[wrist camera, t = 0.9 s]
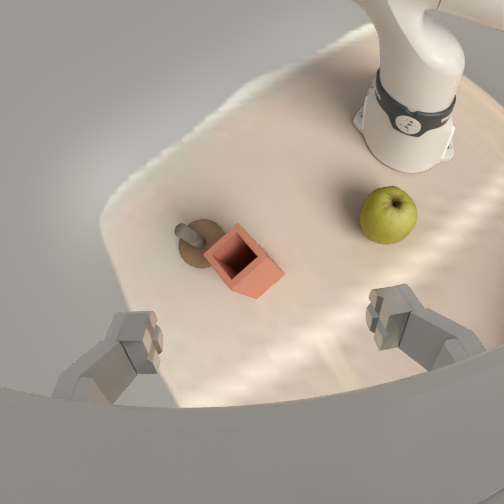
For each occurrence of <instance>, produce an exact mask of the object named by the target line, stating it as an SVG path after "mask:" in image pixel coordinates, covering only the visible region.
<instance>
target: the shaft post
mask: <svg viewBox="0 0 504 504" xmlns="http://www.w3.org/2000/svg"><path fill="white" fill-rule="evenodd" d="M175 235H176V236H178V237H179V238H180V242H179V250H180V254H181V256H182V258H183V260H184V261H185V262H186V263H188V264H189V265H191V266H194V267H196V268H206V267H209V266H212V265H211V264H210V263H209V261H208V260H207V259H206V258H205V256H204V255H203V254H204V253H205V252H206V251H208V250H209V249H210V248H211V247H212V246H213V245H214V244H215V243H216V242H217V241H219V240H220V239H221V238H222V237H223V236H224V235H225V234H224V232H223V230H222V229H221V227H220V226H218V225H217V224H216V223H215V222H213V221H211V220H206V219H202V220H197V221H195V222H193V223H191V224H190V225H189V226H186V225H185V224H182V223H181V224H178V225H177V226H176V228H175Z"/></svg>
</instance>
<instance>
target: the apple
mask: <svg viewBox="0 0 504 504" xmlns="http://www.w3.org/2000/svg"><path fill="white" fill-rule="evenodd" d="M416 220H417V208H416V205H415V204H414V202H413V200H412V199H411V198H410V197H409V195H408V194H407V193H405V192H404V191H403V190H401V189H399V188H398V187H395V186H389V187H383V188H378V189H376V190H374V191H373V192H372V193H371V194H370V195H369V197H368V198H367V200H366V201H365V203H364V205H363V207H362V209H361V213H360V224H361V228H362V230H363V232H364V234H365V235H366V237H367V238H369V239H370V240H371V241H374V242H377V243H379V244H393V243H397V242H399V241H401V240H403V239H404V238H405V237H407V236H408V235H409V233H410V232H411V231H412V230H413V228H414V226H415V224H416Z"/></svg>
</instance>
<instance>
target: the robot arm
mask: <svg viewBox="0 0 504 504" xmlns="http://www.w3.org/2000/svg"><path fill="white" fill-rule="evenodd" d="M353 1H354V2H355V3H356V4H357V5H358V6H359V7H360V8H361V9H362V10H363V11H364V12H365V13H366V15H367V16H368V17H369V19H370V20H371V22H372V23H373V25H374V27H375V29H376V31H377V34H378V38H379V46H380V67H379V69H378V71H377V75H376V77H374V78H373V80H372V83H371V87H372V88H369V89H368V91H367V94H368V95H367V96H366V97H365V103H364V104H363V106H362V107H361V108H360V110H359V111H358V113H357V114H356V116H355V117H354V121H353V123H354V125H355V127H356V128H357V129H358V130H359V131H360V132H361V133H362V134H363V136H364V138H365V140H366V143H367V145H368V147H369V149H370V151H371V152H372V153H373V154H374V156H375V157H376V158H377V159H378V160H380V161H381V162H382V163H384V164H385V165H387V166H388V167H390V168H393V169H395V170H398V171H401V172H407V173H418V172H423V171H426V170H428V169H430V168H431V167H433V166H434V165H435V164H437V163H439V162H445V161H449V160H451V159H452V157H453V154H454V152H453V140H452V135H453V133H454V129H455V127H454V126H453V120H452V115H451V114H452V113H453V110H454V107H455V101H456V91H457V88H458V85H459V83H460V80H461V77H462V74H463V71H464V68H465V57H464V53H463V50H462V48H461V46H460V44H459V42H458V41H457V39H456V38H455V37H454V36H453V35H452V34H451V32H450V31H449V30H448V29H447V28H445V27H444V26H443V25H442V24H440V23H439V22H437V21H436V20H435V19H433V18H432V17H431V16H429V15H428V14H427V13H426V12H425V11H426V10H438V11H441V12H445V13H448V14H451V15H455V16H458V17H461V18H464V19H467V20H470V21H473V22H476V23H478V24H481V25H484V26H486V27H489V28H492V29H496V30H501V31H504V0H353ZM362 117H363V118H362ZM447 148H448V149H447ZM369 300H370V301H371V303H370V304H369V306H368V307H367V310H366V321H367V325H368V328H369V330H370V331H372V332H373V333H375V335H374V340H375V342H376V345H377V347H378V349H379V351H380V350H386V349H391V348H396V347H399V349H401V350H402V351H403V352H404V353H406V354H407V355H408V356H410V357H411V358H412V359H413V360H415V361H416V362H417V363H419V364H420V365H421V366H422V367H424V368H425V369H426V370H428V372H425V373H421V374H418V375H415V376H411V377H407V378H404V379H400V380H396V381H392V382H388V383H384V384H380V385H376V386H372V387H367V388H363V389H358V390H353V391H348V392H343V393H338V394H332V395H326V396H320V397H314V398H307V399H300V400H293V401H285V402H276V403H267V404H256V405H244V406H228V407H203V408H158V407H156V408H155V407H135V406H120V405H113V403H114V402H115V401H116V400H117V399H118V397H119V396H120V395H121V394H122V392H123V391H124V390H125V389H126V388H127V387H128V386H129V384H130V383H131V382H132V381H133V380H134V378H135V377H136V376H137V374H158V370H159V365H160V358H159V356H158V355H159V354H160V353H161V352H162V349H163V335H162V331H161V328H160V327H159V326H157V325H156V322H157V317H156V315H155V312H153V311H138V312H117V313H116V314H115V315H114V318H113V320H112V323H111V325H110V327H109V330H108V332H107V335H106V338H105V340H104V341H101V342H99V343H98V344H97V345H95V346H94V347H93V348H92V349H91V350H89V351H88V352H87V353H86V354H84V355H83V356H82V357H81V358H79V359H78V360H77V361H76V362H75V363H73V364H72V365H71V366H70V367H68V368H67V369H66V370H65V371H63V372H62V373H61V374H60V376H59V379H58V381H57V383H56V386H55V388H54V391H53V393H52V396H51V397H47V396H42V395H36V394H31V393H26V392H22V391H17V390H13V389H9V388H4V387H1V386H0V504H504V344H502V345H500V346H497V347H495V348H492V349H490V350H488V351H486V349H485V348H484V346H483V345H482V343H481V342H480V341H479V339H478V338H477V336H476V335H475V333H474V332H473V331H471V330H469V329H467V328H465V327H463V326H461V325H460V324H458V323H456V322H454V321H452V320H450V319H448V318H446V317H444V316H442V315H440V314H438V313H436V312H434V311H432V310H430V309H428V308H427V309H425V308H424V307H423V305H422V304H421V302H420V301H419V300H418V298H417V297H416V296H415V294H414V293H413V291H412V290H411V289H410V287H409V286H408V285H407V284H402V285H396V286H392V287H386V288H380V289H373V290H371V292H370V295H369Z"/></svg>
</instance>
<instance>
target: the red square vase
mask: <svg viewBox="0 0 504 504" xmlns="http://www.w3.org/2000/svg"><path fill="white" fill-rule="evenodd" d="M203 255H204V256H205V258H206V259H207V260H208V261H209V263H210V264H211V265H212V267H213V268H214V269H215V271H216V272H217V273H218V274H219V276H220V277H221V278H222V280H223V281H224V282H225V283H226V285H227V286H228V287H229V288H230V290H233V291H235V292H238V293H241V294H244V295H247V296H250V297H253V298H256V299H257V298H258V297H260V296H261V295H262V294H263V293H264V292H265V291H266V290H268V289H269V288H270V287H271V286H272V285H273V284H274V283H276V282H277V281H278V280H279V279H280V278H281V277H282V276H284V275H285V274H284V273H283V272H282V271H281V269H280V268H279V267H278V266H277V265H276V264H275V263H274V261H273V260H272V259H271V258H270V257H269V256H268V255H267V253H266V252H265V251H264V250H263V249H262V248H261V247H260V246H259V245H258V244H257V243H256V242H255V240H254V239H253V238H252V237H251V236H250V235H249V234H248V233H247V232H246V231H245V230H244V229H243V228H242V227H241V226H240V225H239V224H238V223H237V224H236V225H235V226H234V227H233V228H232V229H231V230H230V231H228V232H227V233H226V234H225V235H224V236H223V237H222V238H221V239H220V240H219V241H217V242H216V243H215V244H214V245H213V246H212V247H211V248H210V249H209V250H208V251H206V252H205V253H204V254H203Z"/></svg>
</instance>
